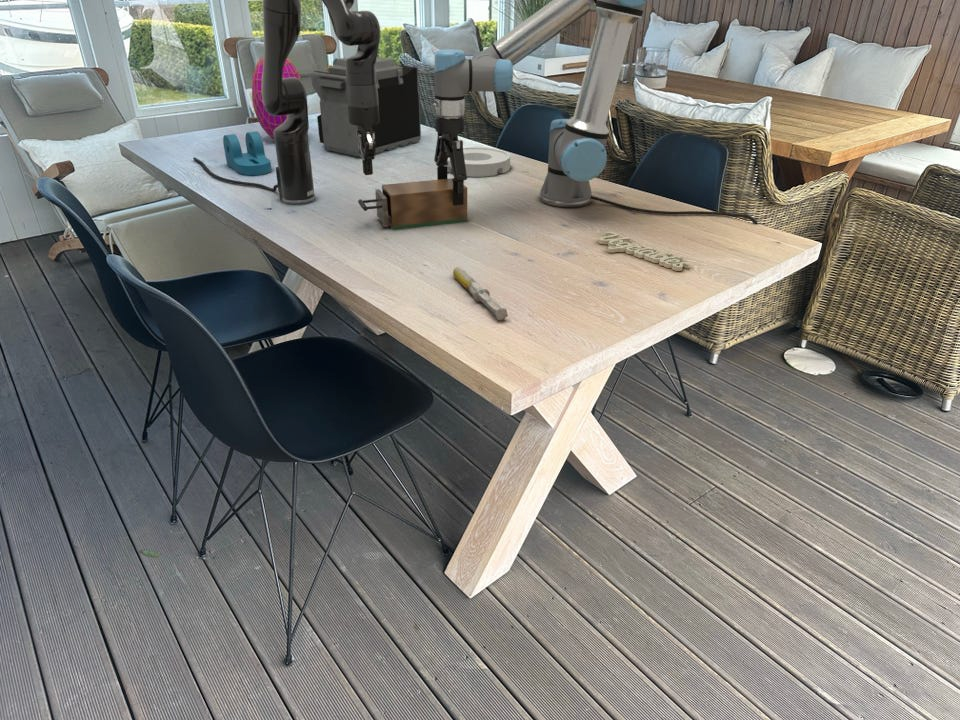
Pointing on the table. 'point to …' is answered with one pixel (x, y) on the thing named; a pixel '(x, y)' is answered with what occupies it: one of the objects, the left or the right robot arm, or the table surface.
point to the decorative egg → (264, 118)
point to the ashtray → (484, 161)
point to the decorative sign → (642, 251)
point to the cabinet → (424, 204)
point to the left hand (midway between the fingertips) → (368, 174)
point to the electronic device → (394, 107)
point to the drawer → (379, 206)
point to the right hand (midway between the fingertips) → (450, 197)
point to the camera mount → (246, 154)
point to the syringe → (479, 293)
